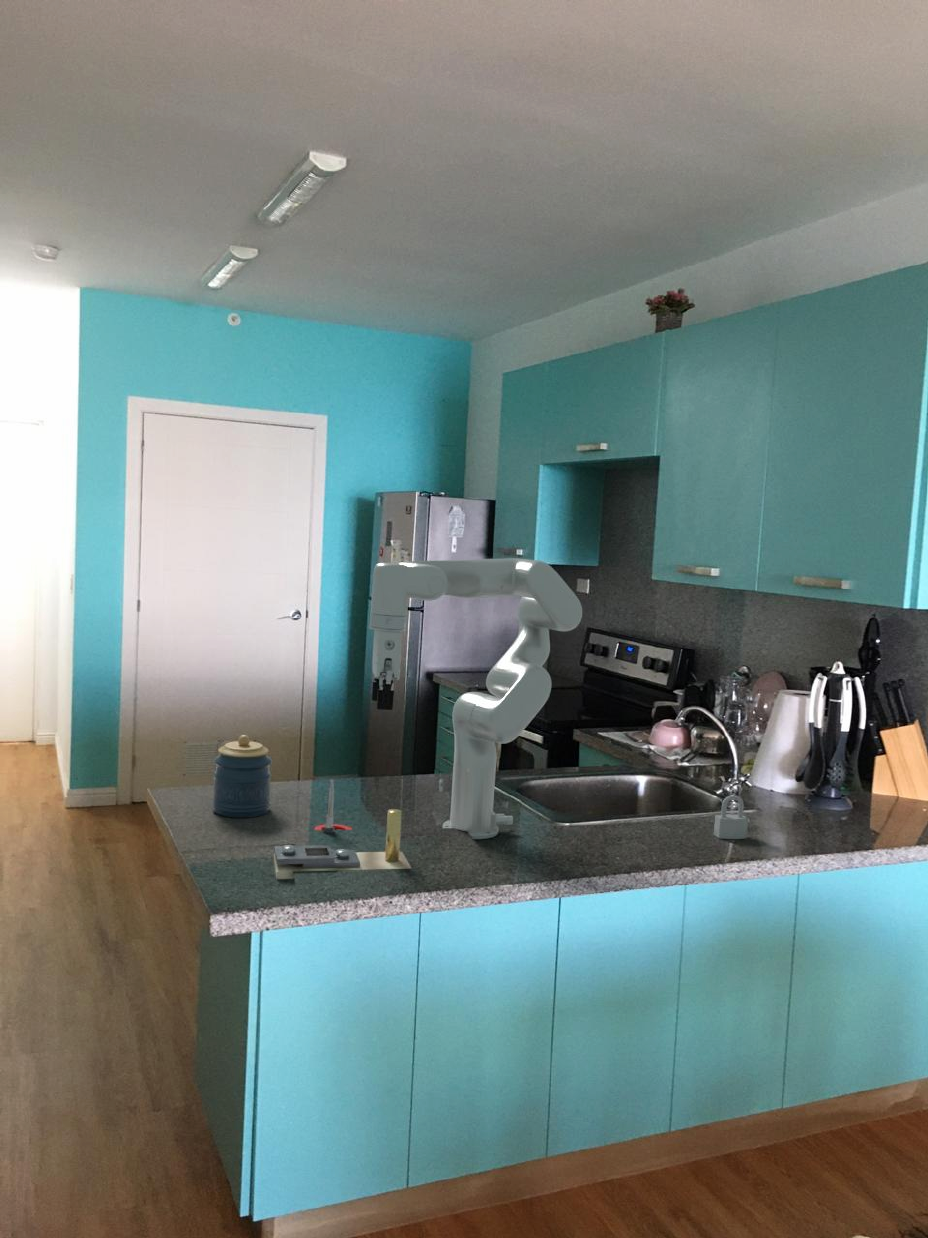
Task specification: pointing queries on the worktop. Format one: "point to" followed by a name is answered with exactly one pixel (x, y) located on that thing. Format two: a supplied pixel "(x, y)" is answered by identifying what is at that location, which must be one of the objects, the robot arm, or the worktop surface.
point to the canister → (242, 779)
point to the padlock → (731, 821)
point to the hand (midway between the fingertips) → (381, 705)
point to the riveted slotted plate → (316, 856)
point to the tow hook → (331, 815)
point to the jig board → (366, 863)
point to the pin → (393, 835)
